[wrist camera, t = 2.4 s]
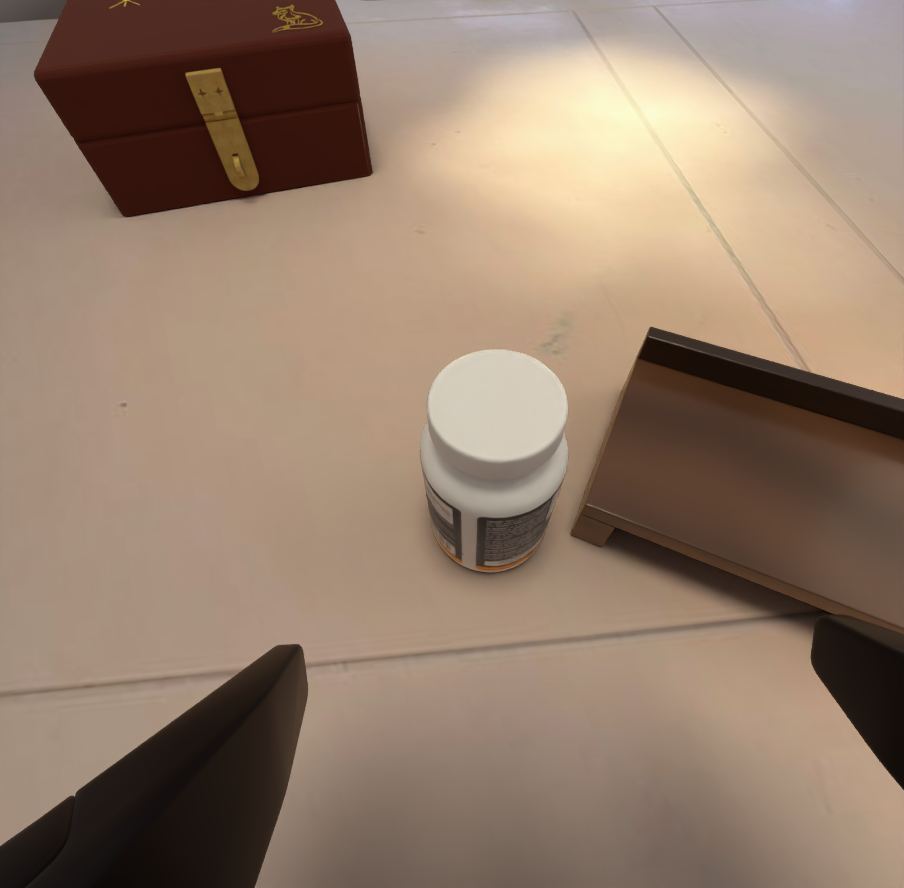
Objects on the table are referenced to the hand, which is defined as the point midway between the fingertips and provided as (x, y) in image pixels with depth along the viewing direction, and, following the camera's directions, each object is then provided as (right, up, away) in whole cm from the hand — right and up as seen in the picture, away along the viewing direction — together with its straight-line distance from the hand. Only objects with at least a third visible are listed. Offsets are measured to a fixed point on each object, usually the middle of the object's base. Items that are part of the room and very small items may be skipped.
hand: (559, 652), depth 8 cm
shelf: (+12, +1, +16) cm, 20 cm away
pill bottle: (0, 0, +16) cm, 16 cm away
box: (-21, +30, +36) cm, 51 cm away
